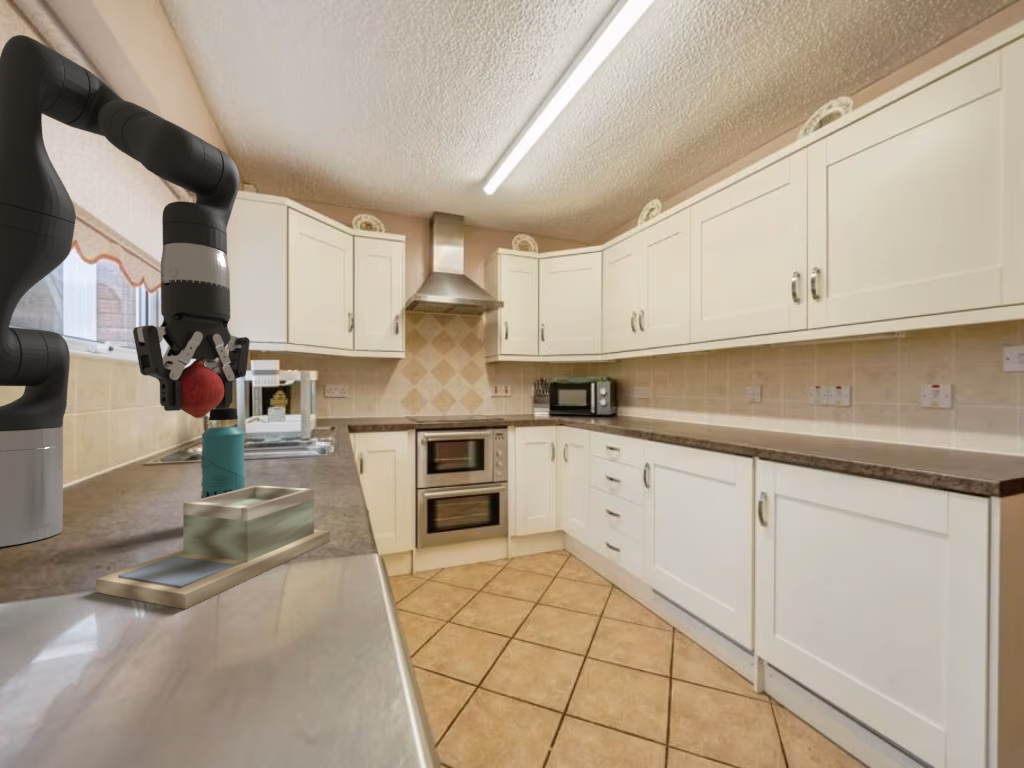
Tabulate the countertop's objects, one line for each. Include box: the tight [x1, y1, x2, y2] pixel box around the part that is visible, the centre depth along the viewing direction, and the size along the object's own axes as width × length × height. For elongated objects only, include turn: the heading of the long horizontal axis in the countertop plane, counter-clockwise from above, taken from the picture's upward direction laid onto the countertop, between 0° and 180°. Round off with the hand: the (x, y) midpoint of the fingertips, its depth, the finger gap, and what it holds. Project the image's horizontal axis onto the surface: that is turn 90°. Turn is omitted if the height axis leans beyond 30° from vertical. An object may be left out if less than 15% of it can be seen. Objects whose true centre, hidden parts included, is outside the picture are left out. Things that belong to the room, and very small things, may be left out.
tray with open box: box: [95, 484, 331, 610], centre depth 56 cm, size 14×21×8 cm, turn 162°
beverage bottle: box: [200, 407, 245, 499], centre depth 75 cm, size 6×7×20 cm
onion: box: [178, 359, 224, 419], centre depth 57 cm, size 6×6×8 cm
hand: (198, 408), depth 57 cm, fingers closed on onion, 6 cm apart
